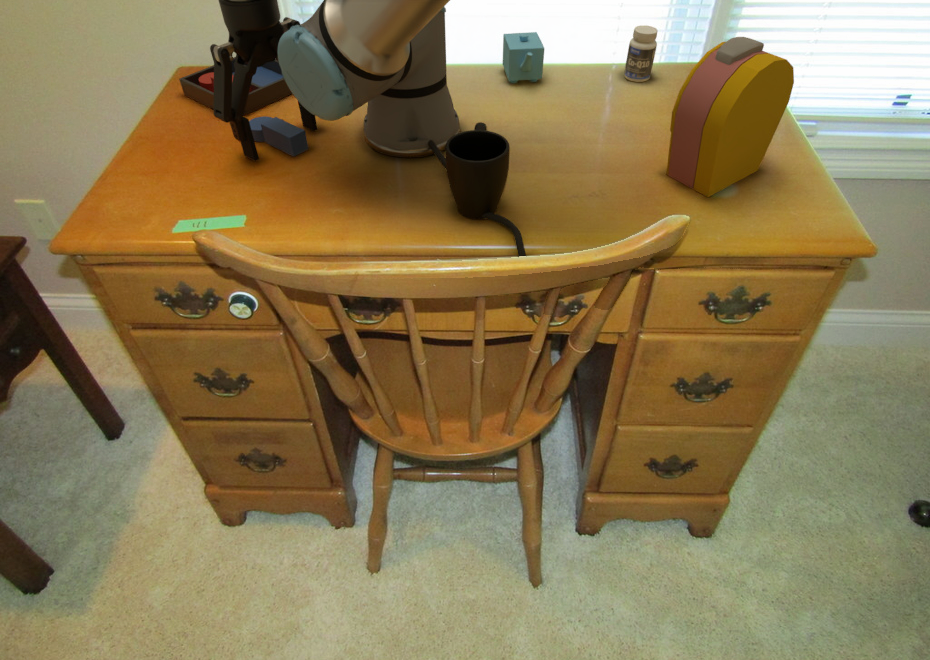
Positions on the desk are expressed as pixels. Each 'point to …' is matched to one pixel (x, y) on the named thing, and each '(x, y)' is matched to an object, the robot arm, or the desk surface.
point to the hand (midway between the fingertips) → (282, 142)
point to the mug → (477, 170)
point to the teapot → (523, 56)
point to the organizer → (264, 86)
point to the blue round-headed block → (279, 134)
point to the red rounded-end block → (210, 81)
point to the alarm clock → (727, 115)
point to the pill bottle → (641, 54)
